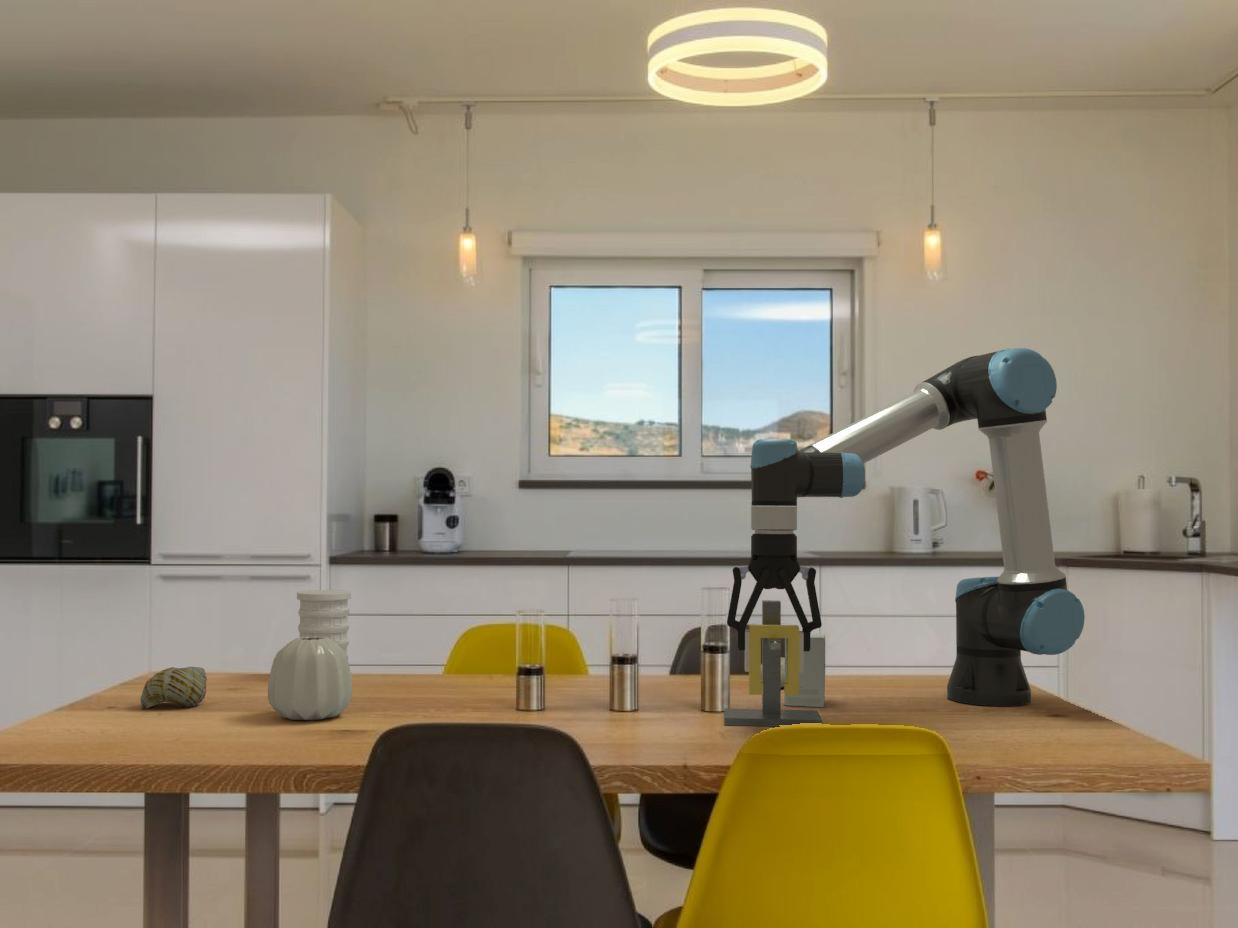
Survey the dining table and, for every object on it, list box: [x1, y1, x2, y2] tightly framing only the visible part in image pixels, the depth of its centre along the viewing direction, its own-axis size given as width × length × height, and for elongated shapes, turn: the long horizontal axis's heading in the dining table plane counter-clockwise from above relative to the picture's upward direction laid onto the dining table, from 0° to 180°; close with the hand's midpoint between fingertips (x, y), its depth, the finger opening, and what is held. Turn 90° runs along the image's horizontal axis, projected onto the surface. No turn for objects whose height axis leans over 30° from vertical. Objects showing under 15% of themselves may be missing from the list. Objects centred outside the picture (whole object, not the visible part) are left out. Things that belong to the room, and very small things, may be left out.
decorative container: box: [296, 589, 352, 678], centre depth 234 cm, size 12×12×18 cm
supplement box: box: [783, 633, 826, 708], centre depth 210 cm, size 7×7×13 cm
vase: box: [267, 637, 353, 721], centre depth 193 cm, size 14×14×13 cm
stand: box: [723, 599, 823, 727], centre depth 189 cm, size 16×16×20 cm
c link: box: [748, 624, 800, 696], centre depth 187 cm, size 8×4×11 cm, turn 85°
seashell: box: [140, 666, 208, 710], centre depth 202 cm, size 10×10×10 cm
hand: (773, 670), depth 187 cm, fingers closed on c link, 8 cm apart
